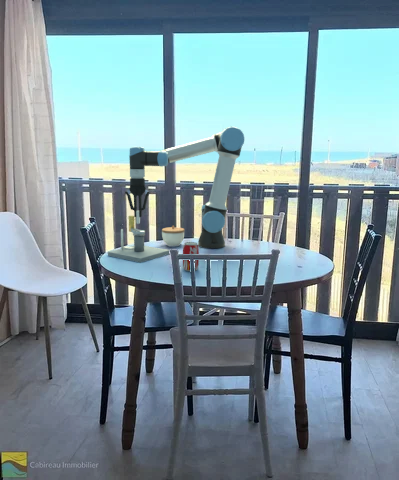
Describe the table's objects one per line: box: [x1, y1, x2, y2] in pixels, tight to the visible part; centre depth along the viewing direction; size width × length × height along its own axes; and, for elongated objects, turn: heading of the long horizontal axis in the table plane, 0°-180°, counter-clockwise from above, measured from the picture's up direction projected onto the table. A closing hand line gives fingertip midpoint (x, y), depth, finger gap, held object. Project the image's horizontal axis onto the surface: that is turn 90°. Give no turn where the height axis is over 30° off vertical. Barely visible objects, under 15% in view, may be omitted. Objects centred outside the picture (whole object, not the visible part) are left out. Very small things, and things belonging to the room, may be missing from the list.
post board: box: [107, 228, 170, 263], centre depth 206 cm, size 22×22×12 cm
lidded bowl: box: [161, 225, 185, 247], centre depth 231 cm, size 13×13×11 cm
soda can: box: [182, 241, 200, 272], centre depth 180 cm, size 7×7×12 cm
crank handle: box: [128, 215, 146, 237], centre depth 209 cm, size 16×6×8 cm, turn 28°
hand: (138, 223), depth 215 cm, fingers closed
